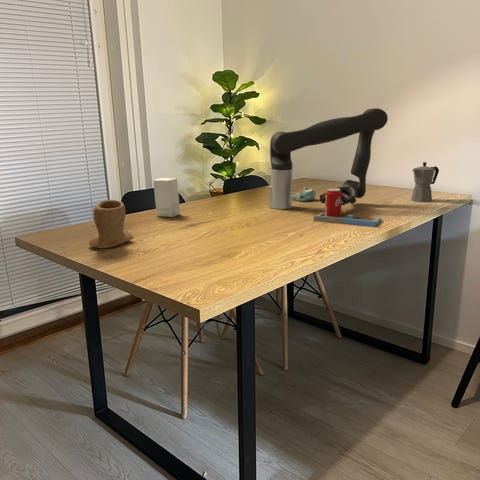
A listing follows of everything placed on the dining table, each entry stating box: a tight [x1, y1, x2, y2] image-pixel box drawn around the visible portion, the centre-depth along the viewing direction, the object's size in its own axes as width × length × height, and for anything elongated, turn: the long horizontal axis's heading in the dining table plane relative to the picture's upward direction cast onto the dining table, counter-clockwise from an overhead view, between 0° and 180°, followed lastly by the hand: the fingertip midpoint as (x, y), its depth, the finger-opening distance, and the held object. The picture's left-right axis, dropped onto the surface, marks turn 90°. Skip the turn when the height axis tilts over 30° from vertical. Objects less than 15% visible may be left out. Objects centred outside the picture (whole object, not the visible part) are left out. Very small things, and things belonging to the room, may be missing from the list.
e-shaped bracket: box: [313, 211, 382, 228], centre depth 185 cm, size 24×11×2 cm, turn 62°
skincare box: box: [152, 177, 181, 218], centre depth 197 cm, size 8×7×16 cm
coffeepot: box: [410, 161, 440, 203], centre depth 220 cm, size 15×9×18 cm, turn 113°
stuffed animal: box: [292, 186, 317, 203], centre depth 227 cm, size 11×7×12 cm
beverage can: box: [324, 187, 342, 218], centre depth 187 cm, size 6×6×12 cm
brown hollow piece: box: [88, 199, 134, 249], centre depth 156 cm, size 15×12×15 cm
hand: (332, 201), depth 186 cm, fingers open, 8 cm apart
